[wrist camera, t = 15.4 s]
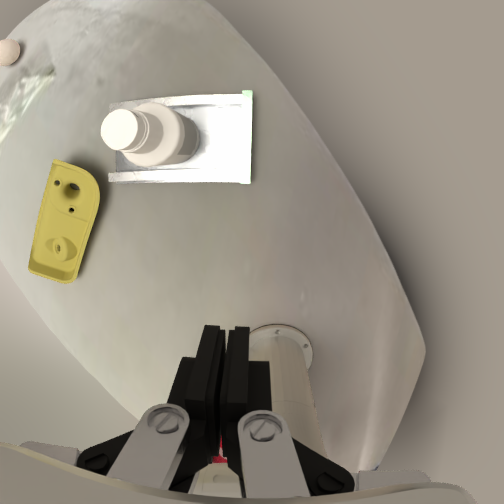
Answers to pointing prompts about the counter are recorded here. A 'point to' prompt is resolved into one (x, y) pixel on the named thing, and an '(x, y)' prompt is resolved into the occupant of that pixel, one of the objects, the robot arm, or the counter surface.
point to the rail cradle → (210, 145)
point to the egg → (8, 51)
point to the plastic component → (64, 223)
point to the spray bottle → (151, 135)
